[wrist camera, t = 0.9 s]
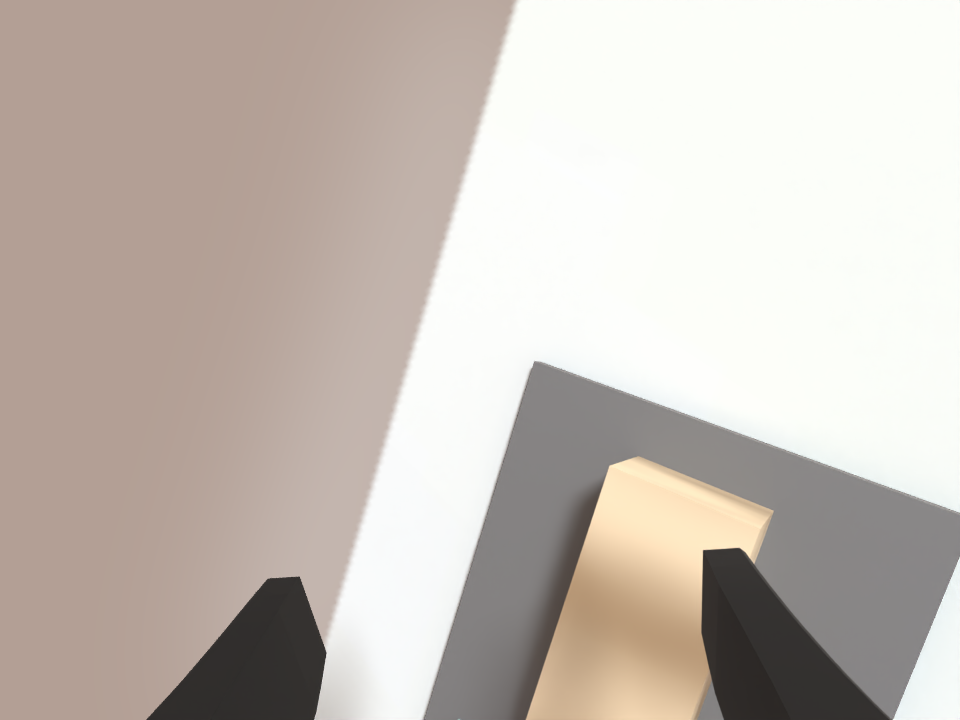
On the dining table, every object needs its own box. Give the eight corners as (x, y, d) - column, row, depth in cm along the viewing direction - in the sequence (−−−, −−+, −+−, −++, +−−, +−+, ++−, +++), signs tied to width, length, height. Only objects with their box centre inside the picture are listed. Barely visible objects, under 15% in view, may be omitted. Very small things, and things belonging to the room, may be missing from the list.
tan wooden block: (681, 764, 23) (656, 814, 20) (559, 690, 25) (523, 726, 22) (773, 510, 21) (760, 528, 19) (638, 456, 24) (609, 465, 21)
